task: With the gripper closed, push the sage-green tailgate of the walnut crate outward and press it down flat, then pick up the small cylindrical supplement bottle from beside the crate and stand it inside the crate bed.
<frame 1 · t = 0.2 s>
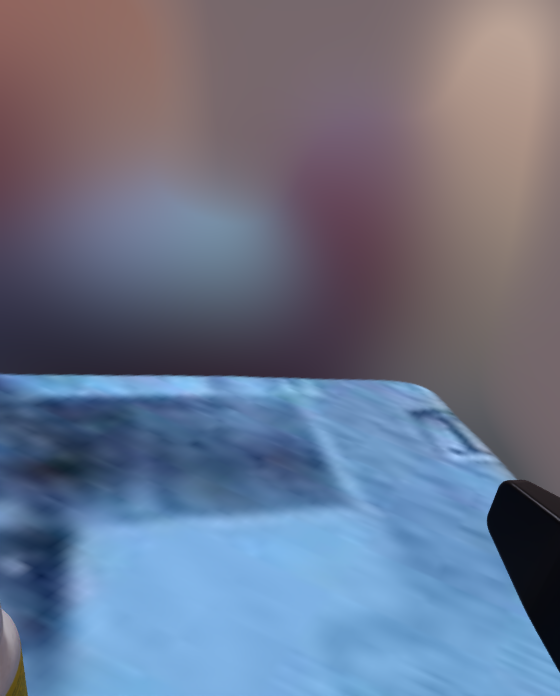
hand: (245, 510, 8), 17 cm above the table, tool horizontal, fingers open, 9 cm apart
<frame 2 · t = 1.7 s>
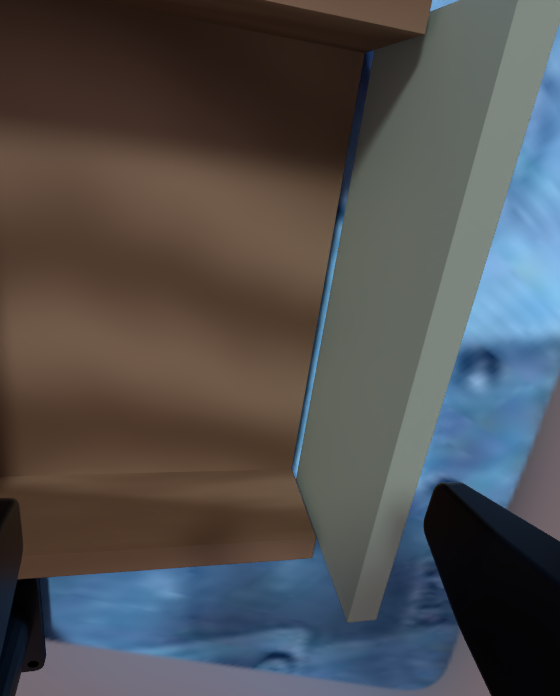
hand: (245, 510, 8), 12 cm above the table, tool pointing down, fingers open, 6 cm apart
crate: (129, 276, 18), on the table
tailgate: (376, 334, 16), point 4 cm above the table, hinge at 0.0°
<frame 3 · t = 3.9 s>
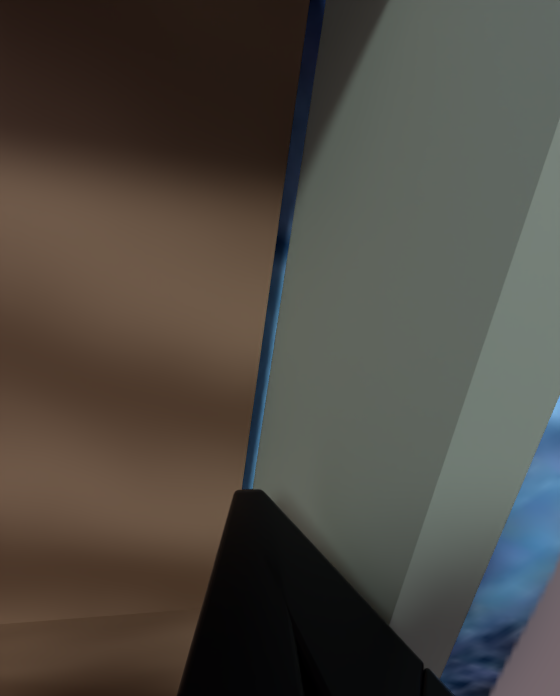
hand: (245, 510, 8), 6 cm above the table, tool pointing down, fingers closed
tailgate: (330, 468, 9), point 4 cm above the table, hinge at 0.6°, touching gripper
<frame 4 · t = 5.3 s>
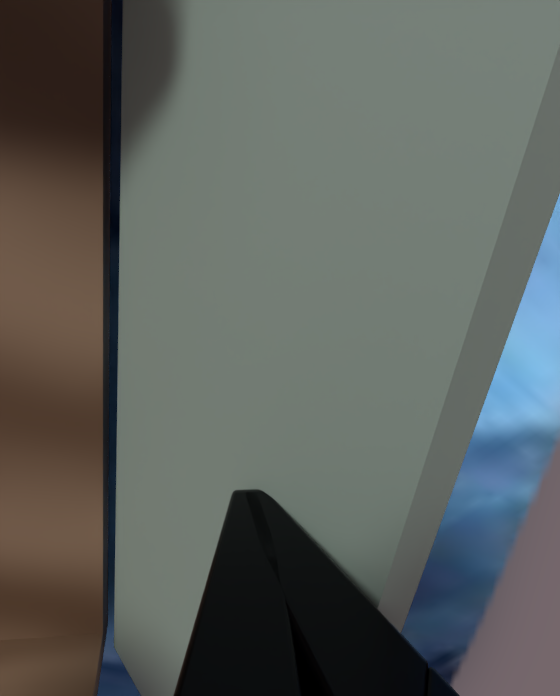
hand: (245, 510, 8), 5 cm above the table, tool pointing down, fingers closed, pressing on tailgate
tailgate: (233, 462, 9), point 4 cm above the table, hinge at 31.5°, touching gripper
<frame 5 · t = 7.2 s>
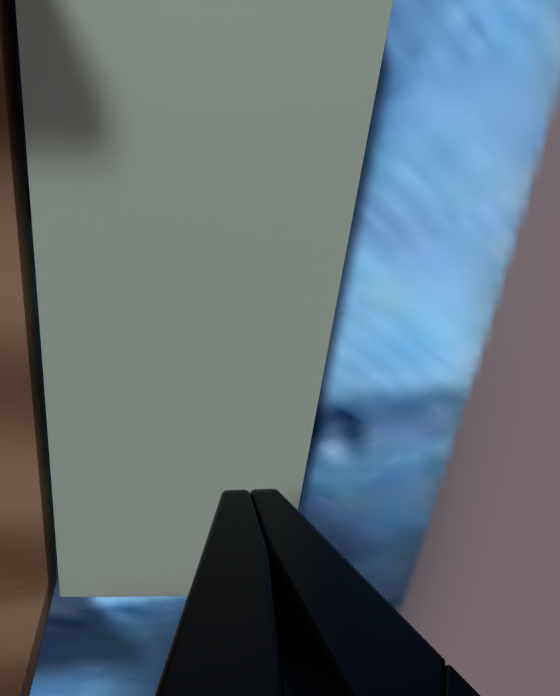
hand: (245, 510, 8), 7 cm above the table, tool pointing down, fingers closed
tailgate: (190, 347, 13), point 1 cm above the table, hinge at 84.9°
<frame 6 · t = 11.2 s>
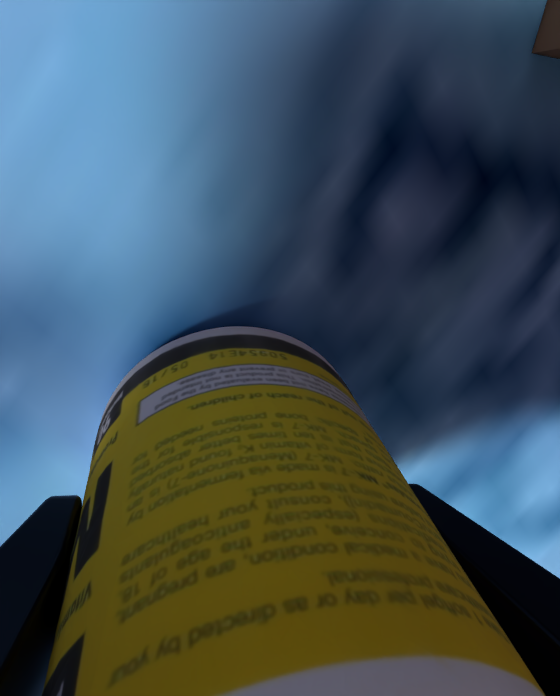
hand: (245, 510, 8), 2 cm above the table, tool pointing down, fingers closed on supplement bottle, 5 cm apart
supplement bottle: (228, 429, 10), on the table, touching gripper
when the fingers open (4 cm above the table, at t = 15.4 s): supplement bottle drops 1 cm, resting on crate.
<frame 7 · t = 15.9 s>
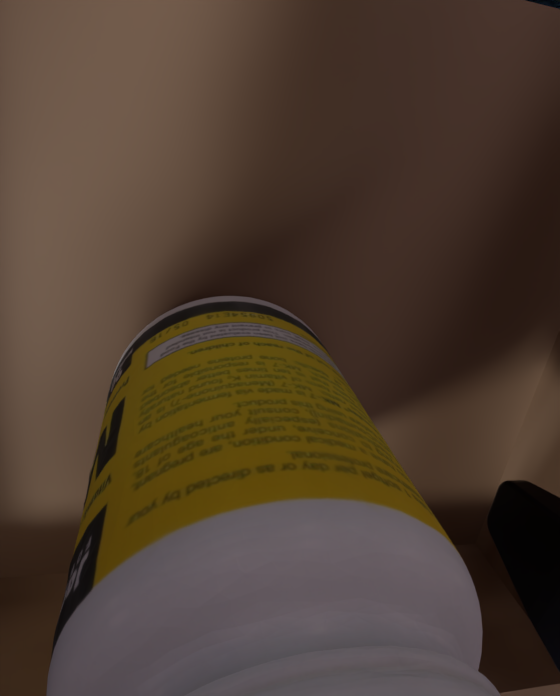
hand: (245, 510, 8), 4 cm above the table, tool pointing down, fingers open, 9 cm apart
crate: (220, 334, 11), on the table
supplement bottle: (224, 390, 11), point 1 cm above the table, touching crate
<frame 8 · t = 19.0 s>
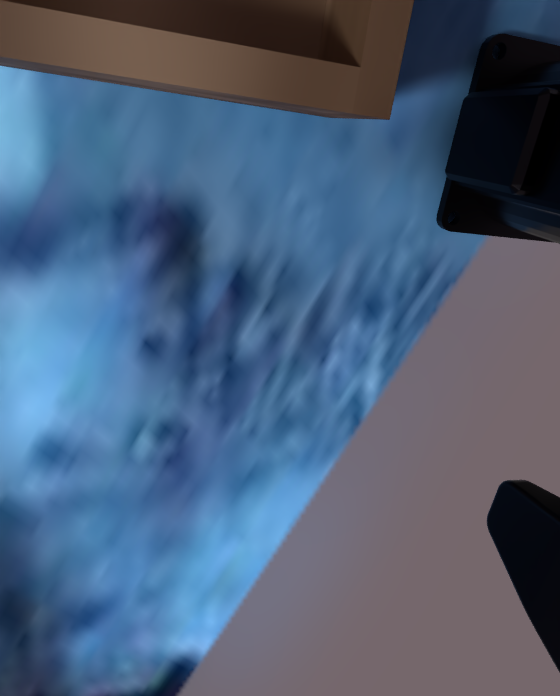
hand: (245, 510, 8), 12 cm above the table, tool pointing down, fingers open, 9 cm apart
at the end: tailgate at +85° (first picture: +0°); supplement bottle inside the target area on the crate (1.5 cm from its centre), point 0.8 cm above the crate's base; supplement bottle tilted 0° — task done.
